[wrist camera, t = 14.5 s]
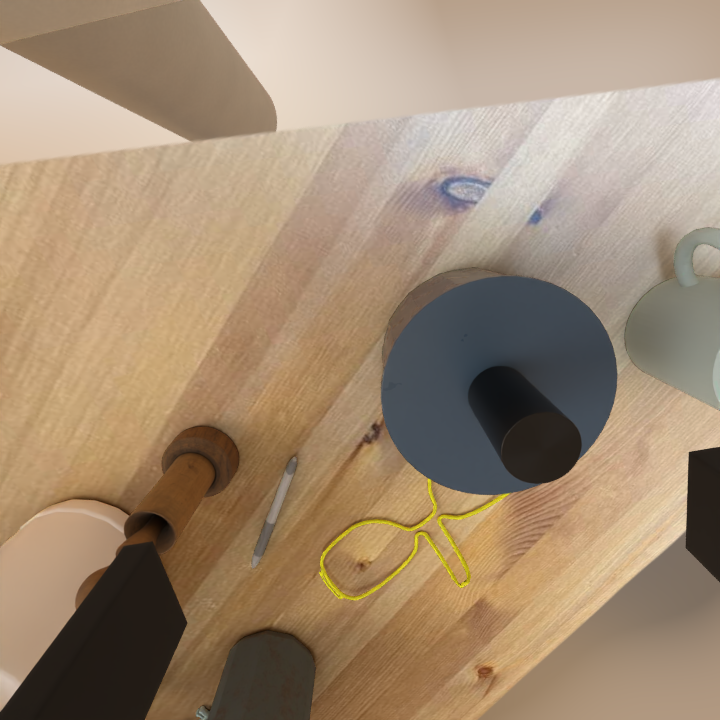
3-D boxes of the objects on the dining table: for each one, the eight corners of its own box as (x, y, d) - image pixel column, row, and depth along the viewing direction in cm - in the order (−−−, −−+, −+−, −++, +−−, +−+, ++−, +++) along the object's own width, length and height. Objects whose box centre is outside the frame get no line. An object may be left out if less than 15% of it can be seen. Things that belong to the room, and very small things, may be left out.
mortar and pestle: (182, 488, 43) (56, 662, 26) (163, 430, 41) (14, 576, 24) (246, 480, 42) (162, 651, 25) (230, 421, 41) (127, 561, 23)
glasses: (493, 411, 40) (509, 434, 35) (555, 479, 42) (578, 510, 37) (304, 558, 45) (297, 596, 40) (367, 613, 47) (367, 654, 42)
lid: (361, 298, 28) (359, 326, 20) (605, 253, 27) (711, 262, 19) (399, 499, 32) (410, 593, 24) (610, 468, 31) (697, 554, 23)
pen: (301, 454, 41) (299, 461, 40) (259, 563, 45) (256, 573, 44) (291, 450, 41) (289, 458, 40) (250, 560, 45) (246, 570, 44)
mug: (743, 354, 38) (871, 395, 28) (638, 393, 39) (726, 446, 29) (713, 203, 34) (847, 192, 25) (599, 252, 35) (684, 259, 26)
